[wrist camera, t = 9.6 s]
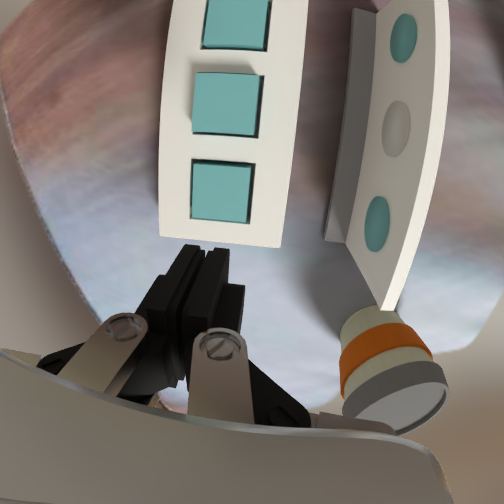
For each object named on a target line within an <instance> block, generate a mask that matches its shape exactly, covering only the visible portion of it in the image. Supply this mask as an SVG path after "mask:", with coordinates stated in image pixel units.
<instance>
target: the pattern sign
mask: <svg viewBox="0 0 504 504" xmlns="http://www.w3.org/2000/svg"><path fill="white" fill-rule="evenodd" d="M449 72H450V26H449V9H448V0H393V1H391V2H390V3H389V4H388V5H386V6H385V7H384V8H383V9H381V10H380V11H379V12H378V13H377V14H376V13H373V12H369V11H366V10H362V9H359V8H355V7H354V8H353V10H352V18H351V36H350V51H349V63H348V75H347V85H346V94H345V103H344V112H343V120H342V127H341V135H340V142H339V149H338V156H337V162H336V168H335V175H334V181H333V187H332V192H331V198H330V204H329V209H328V214H327V220H326V225H325V230H324V235H323V239H324V241H328V242H337V243H345V244H346V246H347V247H348V249H349V251H350V253H351V255H352V256H353V258H354V260H355V262H356V264H357V266H358V268H359V269H360V271H361V273H362V275H363V277H364V279H365V281H366V283H367V285H368V287H369V288H370V290H371V292H372V294H373V296H374V298H375V300H376V302H377V304H378V306H379V308H380V310H386V311H394V309H395V306H396V304H397V302H398V299H399V297H400V294H401V291H402V289H403V286H404V284H405V281H406V278H407V275H408V273H409V270H410V267H411V264H412V261H413V258H414V255H415V252H416V249H417V246H418V243H419V240H420V236H421V233H422V230H423V226H424V223H425V219H426V216H427V212H428V208H429V204H430V200H431V196H432V192H433V188H434V183H435V179H436V174H437V169H438V164H439V159H440V153H441V147H442V141H443V135H444V128H445V120H446V111H447V101H448V89H449Z"/></svg>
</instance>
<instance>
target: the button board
mask: <svg viewBox="0 0 504 504" xmlns="http://www.w3.org/2000/svg"><path fill="white" fill-rule="evenodd" d="M208 6H209V0H174V1H173V7H172V13H171V19H170V26H169V33H168V40H167V48H166V56H165V65H164V75H163V86H162V99H161V114H160V134H159V231H160V236H164V237H174V238H184V239H194V240H204V241H214V242H224V243H234V244H244V245H254V246H263V247H273V248H280V246H281V239H282V232H283V225H284V218H285V211H286V203H287V196H288V188H289V181H290V173H291V165H292V157H293V149H294V141H295V133H296V124H297V115H298V106H299V97H300V88H301V78H302V68H303V58H304V47H305V36H306V24H307V12H308V0H268V14H267V23H266V32H265V42H264V51H263V52H259V51H244V50H208V49H207V48H206V47H205V45H204V44H203V43H204V34H205V27H206V20H207V12H208ZM196 73H225V74H245V75H258V76H259V78H260V85H259V95H258V105H257V115H256V126H255V134H254V135H245V134H231V133H215V132H191V129H192V114H193V101H194V89H195V78H196ZM201 159H208V160H223V161H236V162H247V163H252V172H251V183H250V194H249V205H248V213H247V218H246V222H237V221H227V220H216V219H205V218H194V217H192V195H193V167H194V164H195V163H196V162H198V161H199V160H201Z"/></svg>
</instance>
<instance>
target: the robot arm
mask: <svg viewBox="0 0 504 504" xmlns="http://www.w3.org/2000/svg"><path fill="white" fill-rule="evenodd" d="M229 256H230V250H229V249H225V248H216V247H215V248H214V250H213V251H208V253H207V255H206V257H205V250H200V246H198V245H189V244H185V245H184V246H183V248H182V249H181V251H180V253H179V254H178V256H177V257H176V259H175V261H174V262H173V264H172V265H171V267H170V269H169V270H168V272H167V273H166V275H159V276H158V277H157V278H156V280H155V281H154V283H153V284H152V286H151V288H150V289H149V291H148V292H147V294H146V296H145V297H144V299H143V300H142V302H141V304H140V305H139V307H138V308H137V310H136V312H135V313H120V314H116V315H113V316H111V317H110V318H108V319H107V320H106V321H105V322H104V323H103V324H102V325H101V326H100V327H99V328H98V329H97V330H96V332H95V333H94V334H93V335H92V336H91V337H90V338H89V339H88V341H86V342H84V343H81V344H78V345H76V346H73V347H70V348H67V349H64V350H61V351H58V352H55V353H52V354H49V355H47V356H46V357H44V358H43V357H42V356H41V355H37V354H31V353H25V352H20V351H14V350H9V349H0V504H453V499H452V495H451V492H450V488H449V485H448V482H447V479H446V477H445V474H444V472H443V469H442V467H441V465H440V463H439V461H438V460H437V459H436V457H435V455H434V454H433V453H432V452H431V451H430V450H429V449H427V448H426V447H424V446H423V445H421V444H419V443H417V442H414V441H411V440H409V439H406V438H402V437H398V436H397V434H396V432H395V430H394V429H393V428H392V427H391V426H389V425H388V424H386V423H383V422H379V421H371V420H365V419H358V418H352V417H346V416H340V415H335V414H330V413H325V412H320V413H319V415H318V414H313V413H309V412H308V411H307V410H306V409H305V408H304V406H303V405H301V404H300V403H299V402H298V401H297V400H295V399H294V398H293V397H292V396H290V395H289V394H288V393H287V392H286V391H284V390H283V389H282V388H281V387H280V386H279V385H277V384H276V383H275V382H274V381H273V380H272V379H270V378H269V377H268V376H267V375H266V374H265V373H263V372H262V371H261V370H260V369H259V368H258V367H257V366H256V365H254V364H253V363H252V362H251V361H250V360H249V359H248V354H247V345H246V342H245V340H244V338H243V337H242V336H241V335H240V330H241V323H242V315H243V307H244V296H245V285H238V284H229V283H228V273H229ZM185 374H186V382H187V390H188V392H189V398H188V411H187V415H186V414H181V413H177V412H172V411H167V410H163V409H159V408H155V406H156V404H157V403H158V401H159V399H160V396H161V390H163V389H165V388H167V387H172V388H176V386H177V383H178V380H182V381H183V380H184V377H185Z"/></svg>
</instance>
